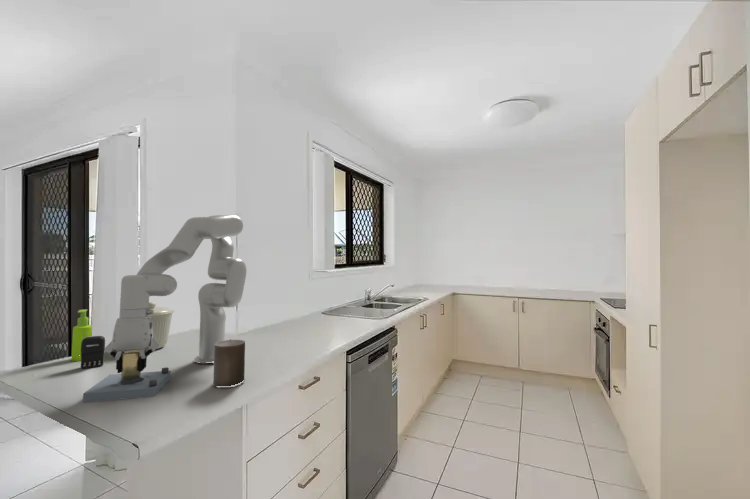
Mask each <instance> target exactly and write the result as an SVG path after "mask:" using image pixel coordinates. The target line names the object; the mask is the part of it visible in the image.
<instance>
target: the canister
mask: <svg viewBox="0 0 750 499" xmlns="http://www.w3.org/2000/svg"><path fill="white" fill-rule="evenodd" d="M156 305H157V304H156V302H155V301H149V309H151V310H153V311H154V312H153V314H149V315H148V317H151V319H152V325H153V339H154V340H155V341H156V342H157V343H158V345H159V347H158V348H157V349H156V350H158V349H162V348H163V347H165V346H167V343H168V339H169V334H170V330H171V329H170V328H171V322H172V315H173V313H174V312H175V310H173V309H171V308H169V307H164V306H163V307H161V306H156ZM151 348H152V345H151V346H149V347H148V348H147V351H148V350H149V349H151Z"/></svg>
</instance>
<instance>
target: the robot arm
mask: <svg viewBox="0 0 750 499" xmlns="http://www.w3.org/2000/svg"><path fill="white" fill-rule="evenodd" d="M243 229H244V223H243V219H241V217H239V216H237V215H234V214H233V215H232V214H229V215H227V214H225V215H221V214H220V215H219V214H218V215H216V214H215V215H210V216H194V217H191V218H189V219H187V220H186V221H185V223H183V225H182V227H181V228H180V229H179V231H178V232H177V234H176V235H175V236H174V237H173V239H172V241H171V242H170V243H169V244H168V246H166V247H165V248H163V249H162V250H160V251H159V252H157V253H156V254H154V255H153V256H151V257H150V258H149V259H148V260H147V261H146V262H145V263H144V264H143V265H142V267H141V268H140V269H139V271H138V272H137V274H129V275H124V276H123V277H122V278H121V282H120V283H121V284H120V302H119V316H118V318H116V321H115V323H114V327H113V333H112V339H111V341H110V342H109V343H108V344H107V345H105V349H104V350H105V353H106V352H107V353H108V354H110V356H112V357H113V358H114V360H115V370H116V371H117V374H121V369H122V353H123V352H126V351H132V350H139V352H140V356H141V359H139V369H138V371H139V372H141V373H142V371H144V370H145V369H146V368H147V360H148V359H147V357H148V356H149V355H151V354H152V353H154V351H156V350H158V349H157V348H158V347H159V345H158V343H157V342H156V341H155V340H154V339H153V325H152V319H151V317H148V315H149V314H153V312H154V311H153V310H151V309H149V302H150V297H166V296H167V297H168V296H170V295H172V294H173V293H174V292H175V291H176V290H177V288H178V281H177V280H176V278H174V276H172V275H170V274H166V273H164V272H165V271H168V269H170V268H171V267H174V266H177V265H180V264H182V263H185V262H186V261H188V260H190V259H192V257H193V256H194V255H195V253H196V251H197V250H198V248H199V247H200V245H201V244H202V242H203V241H204V240H210V242H211V246H212V247H211V253H210V258H209V263H208V268H207V275H208V277H209V278H210V279H212V280H216V281H225V283H223V282H221V283H219V282H218V283H217V282H209V283H206V284H204V285H203V286H201V288H200V289H199V291H198V295H197V297H198V299H197V300H198V303H199V311H200V312H199V313H200V316H199V317H200V319H199V341H198V355H197V356H195V357H194V360H193V362H194V361H196V362H200V363H206V362H212V361H214V351H215V343H217V342H221V341H225V340H226V320H227V319H226V311H225V309H224V308H234V307H237V306H238V305H239V304H240V303H241V300H242V298H243V294H244V293H243V292H244V290H245V283H246V277H247V266H246V263H245V262H244V260H242V259H240V258H238V257H237V258H236V257H234V251H235V248H234V242H233V241H232V239H231V237H235V236H238V235H239V234H241V233H242V231H243ZM163 273H164V274H163ZM151 345H152V348H151V349H149V350H148V351H147V348H148V347H149V346H151Z"/></svg>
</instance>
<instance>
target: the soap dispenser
mask: <svg viewBox="0 0 750 499" xmlns="http://www.w3.org/2000/svg"><path fill="white" fill-rule="evenodd" d="M87 311H88V309H87V308H85V309H84V308H83V309H79V310H78V311H77V314H80V316H79V317H78V318H77V325H75V326H73V327H72V336H71V337H72V341H71V342H72V343H71V356H70V357H72V358H71V361H72V362H81V343H82V340H83V338H85V337H89V336H93V325H91V324H89V321H90V320H89V317H88V316H87ZM79 355H80V356H79Z"/></svg>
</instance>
